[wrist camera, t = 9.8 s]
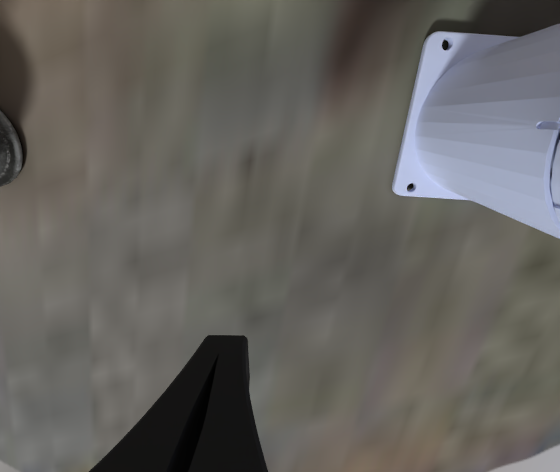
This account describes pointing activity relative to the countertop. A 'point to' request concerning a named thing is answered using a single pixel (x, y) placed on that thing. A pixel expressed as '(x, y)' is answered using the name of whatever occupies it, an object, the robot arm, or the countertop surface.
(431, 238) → the countertop surface
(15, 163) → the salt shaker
